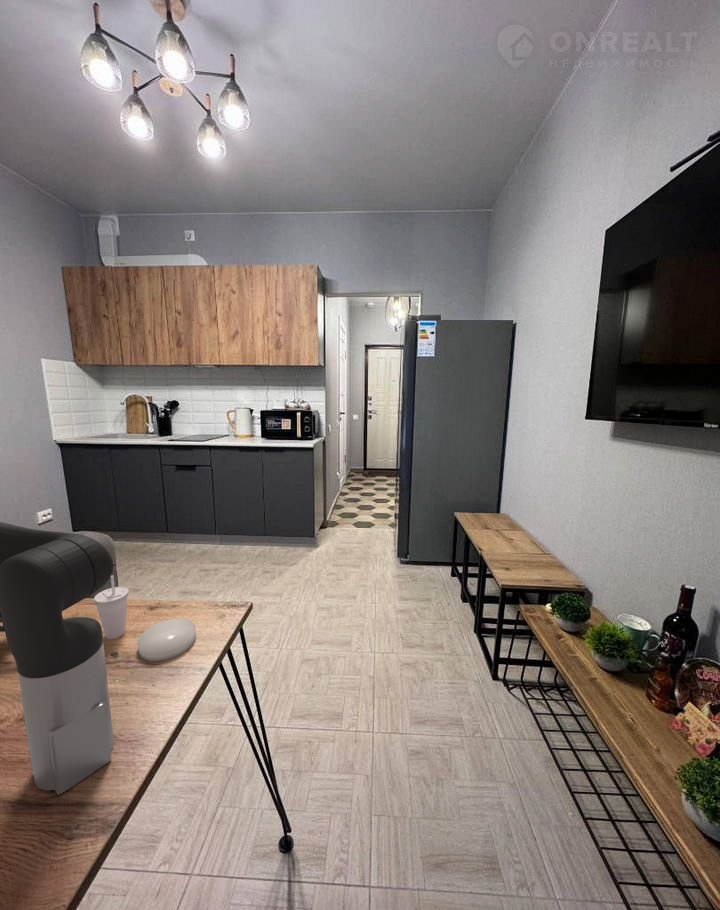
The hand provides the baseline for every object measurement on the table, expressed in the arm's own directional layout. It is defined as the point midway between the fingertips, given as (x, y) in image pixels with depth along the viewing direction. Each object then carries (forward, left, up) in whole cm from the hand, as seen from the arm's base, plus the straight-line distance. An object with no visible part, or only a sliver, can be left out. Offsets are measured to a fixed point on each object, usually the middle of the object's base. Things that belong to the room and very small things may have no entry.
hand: (58, 603), depth 77 cm
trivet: (-20, -14, -8) cm, 25 cm away
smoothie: (-8, -8, -8) cm, 13 cm away
